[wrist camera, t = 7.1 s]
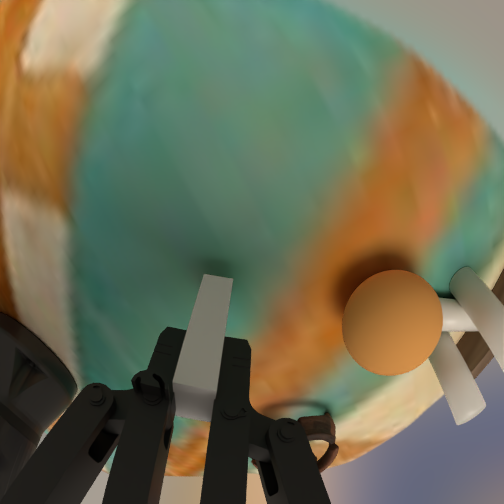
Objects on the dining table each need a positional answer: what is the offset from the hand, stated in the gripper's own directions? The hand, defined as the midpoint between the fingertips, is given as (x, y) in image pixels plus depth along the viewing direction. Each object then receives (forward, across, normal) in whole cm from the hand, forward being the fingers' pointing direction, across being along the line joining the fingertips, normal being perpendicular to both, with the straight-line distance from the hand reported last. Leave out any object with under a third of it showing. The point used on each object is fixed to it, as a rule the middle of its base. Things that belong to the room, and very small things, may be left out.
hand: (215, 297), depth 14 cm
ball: (-1, +10, +1) cm, 10 cm away
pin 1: (+2, +17, +2) cm, 17 cm away
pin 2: (+2, +17, -2) cm, 17 cm away
